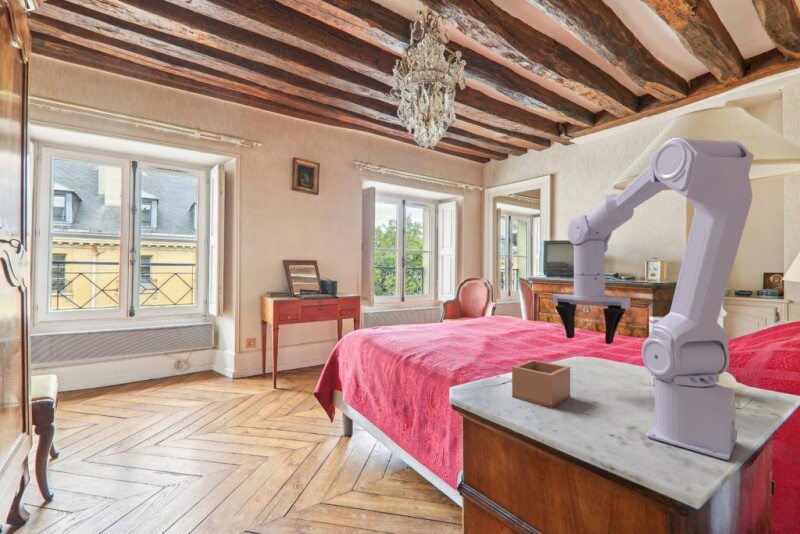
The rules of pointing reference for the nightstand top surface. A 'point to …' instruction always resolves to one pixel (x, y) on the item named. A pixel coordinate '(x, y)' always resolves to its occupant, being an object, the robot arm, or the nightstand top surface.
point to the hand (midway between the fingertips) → (589, 340)
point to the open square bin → (541, 383)
